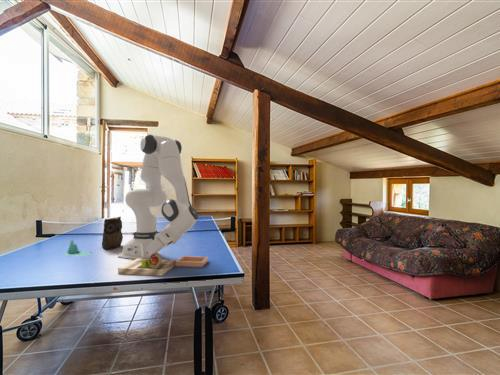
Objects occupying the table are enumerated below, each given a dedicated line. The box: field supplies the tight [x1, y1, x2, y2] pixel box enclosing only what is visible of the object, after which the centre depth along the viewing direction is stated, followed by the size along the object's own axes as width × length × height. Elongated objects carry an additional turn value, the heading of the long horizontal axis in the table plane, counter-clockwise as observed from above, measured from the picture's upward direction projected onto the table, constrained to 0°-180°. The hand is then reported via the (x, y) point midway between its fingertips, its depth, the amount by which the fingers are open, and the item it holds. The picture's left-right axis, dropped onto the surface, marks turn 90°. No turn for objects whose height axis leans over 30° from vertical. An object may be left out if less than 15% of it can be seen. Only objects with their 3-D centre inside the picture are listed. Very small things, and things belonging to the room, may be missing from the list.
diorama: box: [63, 238, 94, 257], centre depth 159 cm, size 12×20×9 cm, turn 77°
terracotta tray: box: [174, 255, 209, 269], centre depth 140 cm, size 14×11×2 cm
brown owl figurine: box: [101, 216, 124, 251], centre depth 175 cm, size 13×13×20 cm
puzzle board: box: [117, 258, 177, 277], centre depth 131 cm, size 21×17×3 cm
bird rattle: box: [141, 248, 163, 269], centre depth 128 cm, size 6×11×9 cm
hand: (151, 254), depth 128 cm, fingers closed on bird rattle, 2 cm apart
